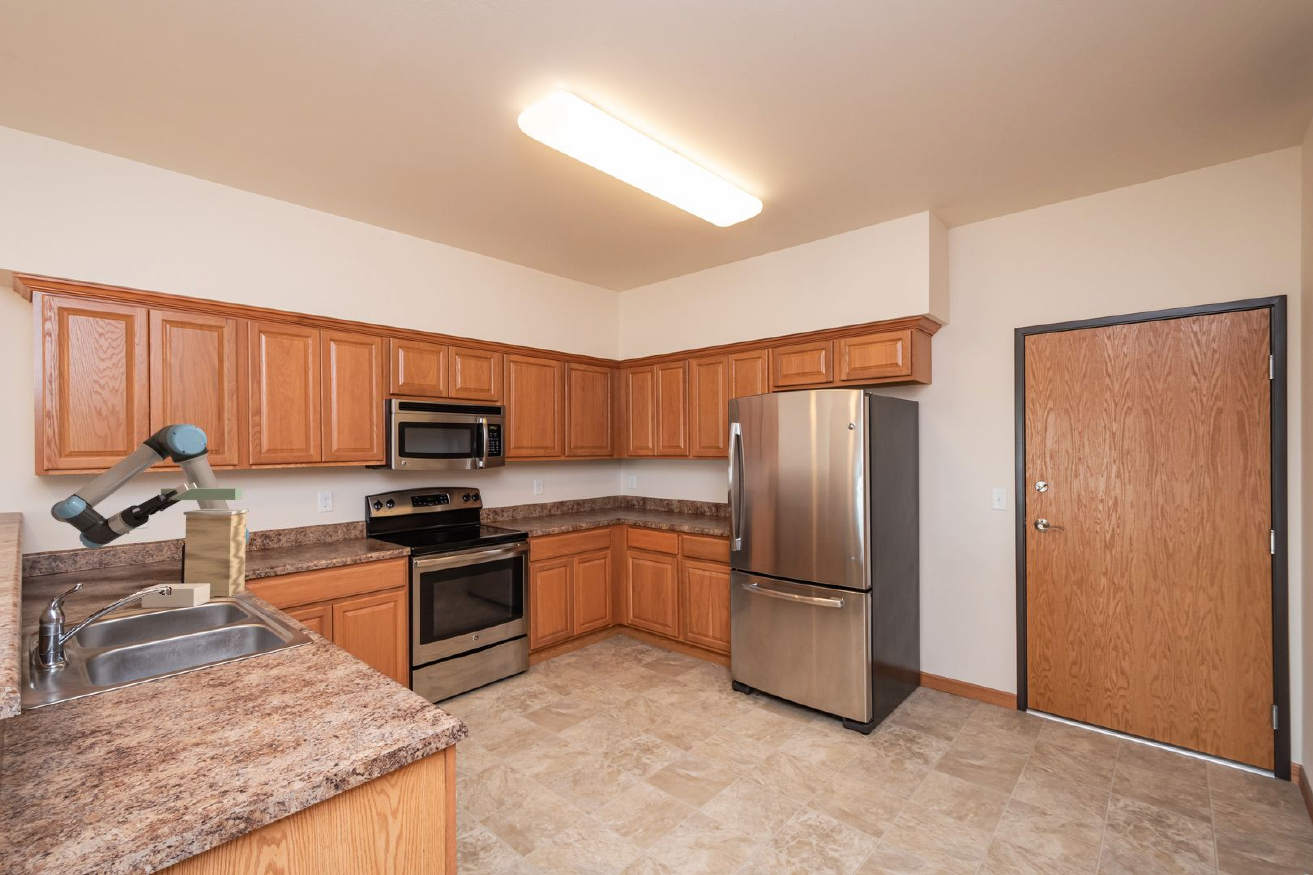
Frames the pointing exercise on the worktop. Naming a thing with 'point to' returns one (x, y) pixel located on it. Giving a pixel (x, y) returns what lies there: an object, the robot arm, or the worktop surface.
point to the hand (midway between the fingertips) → (190, 486)
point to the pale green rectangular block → (208, 494)
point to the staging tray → (178, 596)
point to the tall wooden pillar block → (216, 549)
